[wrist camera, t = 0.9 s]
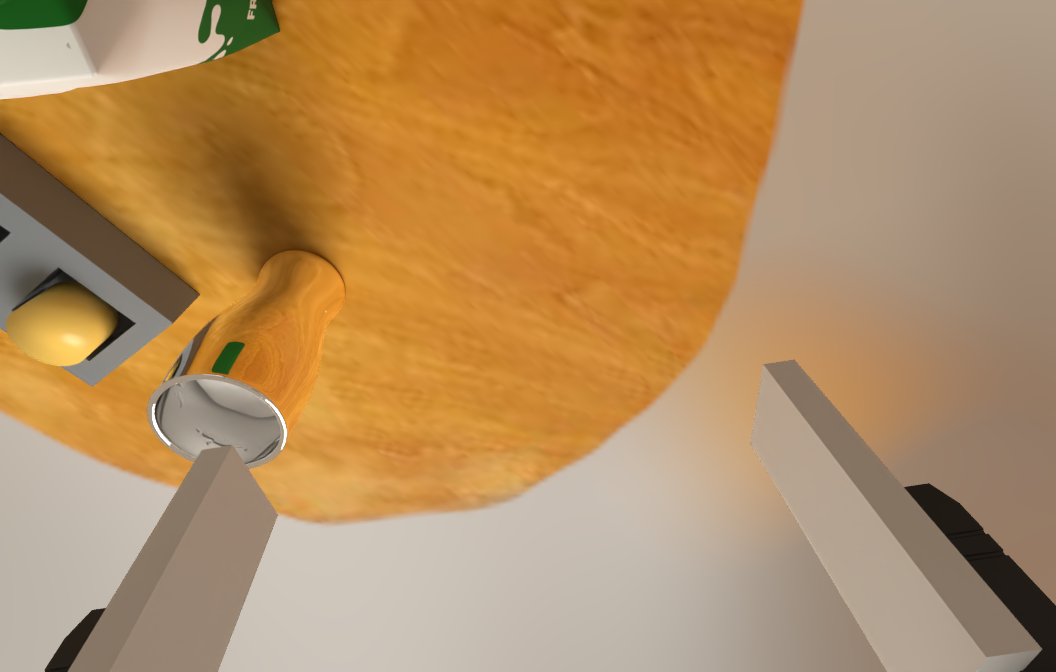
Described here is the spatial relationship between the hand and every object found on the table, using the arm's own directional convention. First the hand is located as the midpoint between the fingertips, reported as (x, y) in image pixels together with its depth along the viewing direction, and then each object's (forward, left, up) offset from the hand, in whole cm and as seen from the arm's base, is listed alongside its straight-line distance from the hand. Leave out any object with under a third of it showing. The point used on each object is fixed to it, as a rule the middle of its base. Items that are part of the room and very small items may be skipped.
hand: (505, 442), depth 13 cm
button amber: (-9, -28, -23) cm, 37 cm away
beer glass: (-1, -17, -26) cm, 31 cm away
